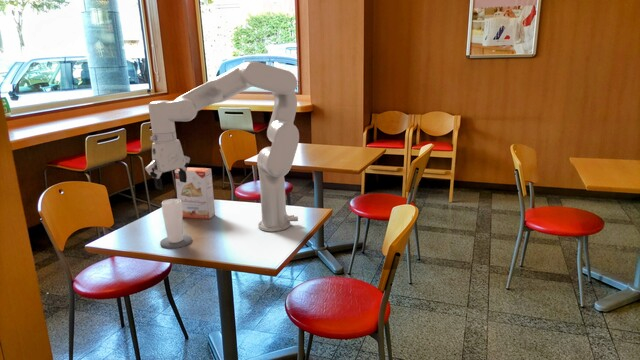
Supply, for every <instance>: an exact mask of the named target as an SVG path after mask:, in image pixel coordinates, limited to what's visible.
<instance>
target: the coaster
mask: <svg viewBox="0 0 640 360" xmlns="http://www.w3.org/2000/svg"><path fill="white" fill-rule="evenodd" d="M191 243H193V238H192V236H190V235H187V234H183V240H182V241H181V242H178V243H170V242H169V241H168V237H164V238H163V239H161V240H160V241H159V245H160V247H161V248H163V249H168V250H170V249H171V250H172V249H174V250H175V249H181V248H184V247H187V246H188V245H190V244H191Z"/></svg>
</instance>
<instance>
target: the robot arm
mask: <svg viewBox="0 0 640 360" xmlns="http://www.w3.org/2000/svg"><path fill="white" fill-rule="evenodd" d="M297 86H298V80H297V77H296V75H295V74H294V73H292V71H290V70H286V69H283V68H280V67H276V66H272V65H271V64H270V65H269V64H266V63H263V62H259V61H256V60H251V61H244V62H242V63H240V64H238V65H236V66H234V67H232V68H231V69H229V70H227V71H226V72H224V73H222V74H220V75H218V76H215V77H213V79H210V80H208V81H207V82H205V83H203V84H201V85H199V86H197V87H195V88H193V89H191V90H190V91H188V92H186V93H184V94H181V95H180V96H178V97H176V98H175V99H174V100H172V101H170V100H167V99H165V100H154V101H151V102H149V103H148V112H149V119H150V126H151V132H152V134H151V136H150V137H149V139H150V141H153V142H152V144H151V159H152V160H151V162H150V163H149V164H148V165H147V166H145V167H144V170H145V171H146V172H147V174H148V175H149V176H150V177H151V178H152V179H153V180H154V186H155V188H156V189H157V190H161V191H162V190H164V186H163V179H162V178H161V176H162V174H163V173H167V172H171V171H175V170H176V169H179V170H180V171H179V179H180V182H184V183H186V182H187V181H186V171H187V167H189V165H190V161H191V158H190V157H189V156H187V155H184V151H183V148H182V147H183V146H182V144H181V141H180V139H177V132H176V124H175V122H190V121H192V120H193V119H195V118H196V117H197V115H198V112H199V111H201V110H202V109H205V108H207V107H209V106H211V105H214V104H215V105H216V104H219V103H223V102H227V101H229V100H230V99H232V98H233V97H235V96H237V95H238V94H240V93H242V92H244V91H246V90H248V89H250V88H251V87H254V88H257V89H259V90H260V89H261V90H265V91H268V92H271V95H272V96H273V99H274V103H273V104H274V105H273V110H272V114H271V117H270V120H269V122H268V127H267V130H266V137H267V138H268V140H269V141H270V142H271V146H266V147H264V148H262V149H261V150H260V151H259V153H258V155H257V159H256V162H257V164H256V165H257V170H258V176H259V177H258V178H259V191H260V207H261V211H260V212H261V221H259V223H258V224H257V226H258V229H260V230H262V231H265V232H280V231H284V230H286V229H288V228H290V227H291V222H299V217H298V216H297V215H296V216H295V214H292V215H288V213H287V207H286V206H287V205H286V184H285V183H286V182H285V176H286V175H287V174H289V171H291V168H292V166H293V164H294V159H295V157H296V153H297V149H298V147H299V143H300V132H299V129H298V128H297V126H296V125H295V124H294V121H295V119H296V118H295V117H296V114H297V108H298V97H297V94H296V92H295V91H296V90H297ZM153 170H154V171H153Z"/></svg>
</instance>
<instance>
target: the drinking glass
mask: <svg viewBox="0 0 640 360" xmlns="http://www.w3.org/2000/svg"><path fill="white" fill-rule="evenodd" d="M161 211H162V216H163V222H164V225H165V226H164V227H165V231H166V235H167V237H168V241H169V242H170V243H178V242H181V241H182V240H183V235H184V226H183V223H184V221H183V218H184V217H183V211H182V202H181V200H180V199H178V198H170V199H164V200H162V202H161ZM167 237H166V238H167Z"/></svg>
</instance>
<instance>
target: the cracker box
mask: <svg viewBox="0 0 640 360" xmlns="http://www.w3.org/2000/svg"><path fill="white" fill-rule="evenodd" d="M179 171H180V170H179V169H176V170H174V177H175V178H174V180H175V185H176V186H175V187H176V197H177V198H176V199H180V200H181V202H182V211H183V218H185V219H186V218H188V219H200V220H201V219H202V220H203V219H204V220H210V219H211V218H213V217H214V216H215V215H216V209H215V199H214V196H215V195H214V186H213V175H212V174H213V173H212V168H207V167H189V166H188V167H187V171H186V181H187V182H186V183H184V182H180V179H179Z"/></svg>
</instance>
